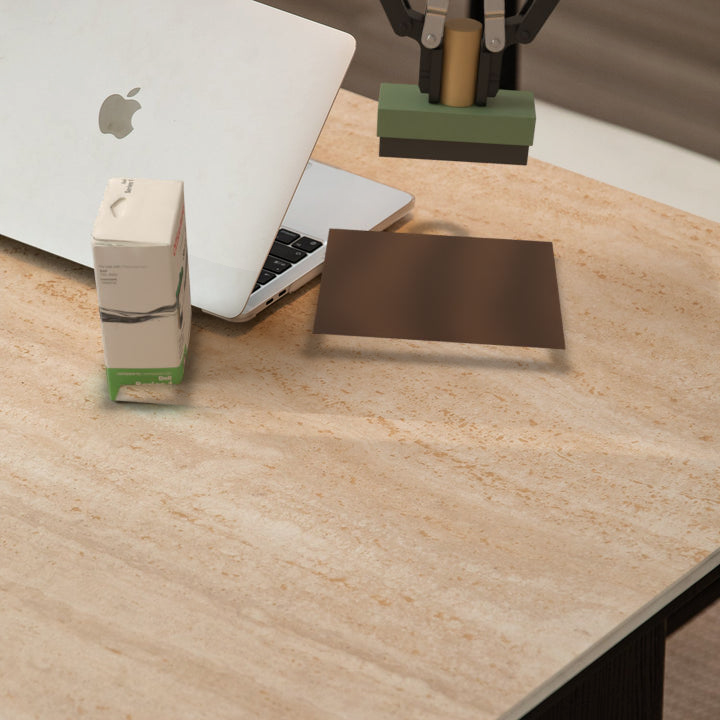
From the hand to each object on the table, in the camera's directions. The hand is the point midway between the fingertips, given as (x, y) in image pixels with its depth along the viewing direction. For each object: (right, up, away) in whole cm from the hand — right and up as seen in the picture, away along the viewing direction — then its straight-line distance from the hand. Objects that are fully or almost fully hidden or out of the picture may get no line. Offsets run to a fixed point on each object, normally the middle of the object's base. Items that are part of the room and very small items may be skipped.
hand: (457, 98), depth 80 cm
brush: (0, -3, +2) cm, 4 cm away
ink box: (-20, -17, +3) cm, 27 cm away
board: (-1, -13, +10) cm, 16 cm away
